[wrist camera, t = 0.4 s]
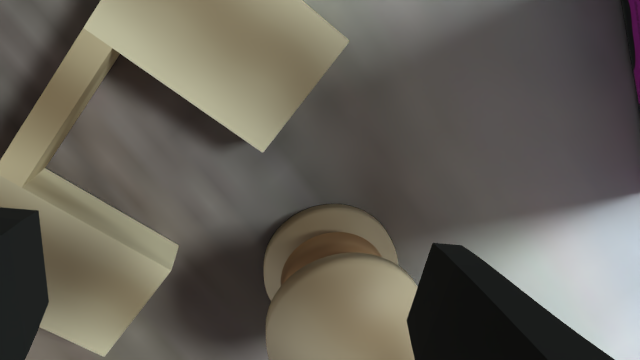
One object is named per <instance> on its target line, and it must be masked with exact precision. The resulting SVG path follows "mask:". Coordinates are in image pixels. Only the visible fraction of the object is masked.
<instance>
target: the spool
mask: <svg viewBox="0 0 640 360" xmlns="http://www.w3.org/2000/svg"><path fill="white" fill-rule="evenodd" d="M263 270H264V284H265V288H266V292H267V294H268V296H269V299H270V300H271V303H270V306H269V309H268V312H267V317H266V347H267V353H268V357H269V360H415V358H414V354H413V350H412V345H411V340H410V335H409V331H408V326H407V321H406V320H407V317H408V314H409V312H410V309H411V306H412V303H413V300H414V297H415V294H416V291H417V288H418V287H417V285H416V284H415V282H414V281H413V279H412V278H411V276H410V275H409V274H408V273H407V272H406V271H405V270H404V269H402V268H401V267H400V266H398V260H397V254H396V250H395V247H394V245H393V243H392V241H391V239H390V237H389V235H388V233H387V232H386V230H385V229H384V227H383V226H382V225H381V224H380V223H379V221H378V220H377V219H375V218H374V217H373V216H372V215H370V214H368V213H367V212H365V211H363V210H361V209H359V208H356V207H352V206H349V205H342V204H325V205H319V206H314V207H311V208H308V209H305V210H303V211H301V212H299V213H297V214H295V215H294V216H292V217H291V218H289V219H288V220H287V221H286V222H284V223H283V224H282V225H281V226H280V227H279V228H278V229H277V231H276V232H275V233H274V235H273V236H272V238H271V240H270V242H269V243H268V246H267V249H266V251H265V256H264V265H263Z"/></svg>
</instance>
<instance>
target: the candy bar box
mask: <svg viewBox="0 0 640 360" xmlns="http://www.w3.org/2000/svg"><path fill="white" fill-rule="evenodd" d="M621 1H622V7H623V13H624V19H625V25H626V31H627V37H628V43H629V49H630V55H631V61H632V67H633V73H634V79H635V85H636V90H637V96H638V103H639V109H640V0H621Z"/></svg>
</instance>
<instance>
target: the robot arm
mask: <svg viewBox="0 0 640 360" xmlns="http://www.w3.org/2000/svg"><path fill="white" fill-rule="evenodd" d="M48 303H49V298H48V289H47V280H46V272H45V263H44V254H43V245H42V236H41V227H40V219H39V210H27V209H15V208H3V207H0V360H25V358H26V356H27V354H28V352H29V349H30V347H31V345H32V342H33V340H34V338H35V336H36V333H37V331H38V328H39V326H40V323H41V321H42V318H43V316H44V313H45V311H46V308H47V306H48ZM406 321H407V326H408V331H409V335H410V340H411V345H412V350H413V354H414V358H415V360H614V359H613V358H612V357H610V356H609V355H607V354H606V353H605V352H603V351H602V350H600V349H599V348H597V347H596V346H595V345H593V344H592V343H590V342H589V341H588V340H586V339H585V338H583V337H582V336H581V335H579V334H578V333H577V332H575V331H574V330H573V329H571V328H570V327H569V326H567V325H566V324H564V323H563V322H562V321H560V320H559V319H558V318H557V317H555V316H554V315H553V314H551V313H550V312H549V311H547V310H546V309H545V308H543V307H542V306H541V305H540V304H538V303H537V302H536V301H534V300H533V299H532V298H531V297H529V296H528V295H527V294H526V293H524V292H523V291H522V290H520V289H519V288H518V287H517V286H515V285H514V284H513V283H512V282H510V281H509V280H508V279H506V278H505V277H504V276H503V275H501V274H500V273H499V272H497V271H496V270H495V269H494V268H492V267H491V266H490V265H488V264H487V263H486V262H484V261H483V260H482V259H480V258H479V257H478V256H476V255H475V254H474V253H472V252H471V251H469V250H468V249H466V248H465V247H463V246H461V245H450V244H438V243H433V244H432V247H431V250H430V253H429V256H428V259H427V261H426V264H425V267H424V270H423V273H422V276H421V279H420V282H419V285H418V288H417V291H416V294H415V297H414V300H413V303H412V306H411V309H410V312H409V314H408V317H407V320H406Z"/></svg>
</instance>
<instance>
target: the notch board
mask: <svg viewBox="0 0 640 360" xmlns="http://www.w3.org/2000/svg"><path fill="white" fill-rule="evenodd" d="M349 42H350V41H349V40H348V39H347V38H346V37H345V36H343V35H342V34H341V33H340V32H339V31H338V30H336V29H335V28H334V27H333V26H332V25H331V24H329V23H328V22H327V21H326V20H325V19H324V18H322V17H321V16H320V15H319V14H318V13H317V12H315V11H314V10H313V9H312V8H311V7H309V6H308V5H307V4H306V3H305V2H304V1H302V0H101V1H100V2H99V4H98V5H97V7H96V9H95V10H94V12H93V13H92V15H91V17H90V18H89V20H88V21H87V23H86V25H85V26H84V28H83V29H82V31H81V33H80V34H79V36H78V37H77V39H76V40H75V42H74V44H73V45H72V47H71V48H70V50H69V52H68V53H67V55H66V56H65V58H64V60H63V61H62V63H61V64H60V66H59V68H58V69H57V71H56V72H55V74H54V76H53V77H52V79H51V80H50V82H49V83H48V85H47V87H46V88H45V90H44V91H43V93H42V95H41V96H40V98H39V99H38V101H37V103H36V104H35V106H34V107H33V109H32V111H31V112H30V114H29V115H28V117H27V119H26V120H25V122H24V123H23V125H22V126H21V128H20V130H19V131H18V133H17V134H16V136H15V138H14V139H13V141H12V142H11V144H10V146H9V147H8V149H7V150H6V152H5V154H4V155H3V157H2V158H1V160H0V207H3V208H15V209H27V210H39V219H40V227H41V236H42V245H43V254H44V263H45V272H46V280H47V289H48V298H49V303H48V306H47V308H46V311H45V313H44V316H43V318H42V321H41V323H40V326H39V327H40V328H43V329H45V330H47V331H49V332H51V333H53V334H56V335H58V336H60V337H62V338H64V339H66V340H69V341H71V342H73V343H75V344H77V345H79V346H82V347H84V348H86V349H88V350H90V351H92V352H95V353H97V354H99V355H101V356H103V357H105V355H106V354H107V353H108V351H109V350H110V349H111V348H112V346H113V345H114V344H115V342H116V341H117V340H118V339H119V337H120V336H121V335H122V333H123V332H124V331H125V330H126V328H127V327H128V326H129V324H130V323H131V322H132V321H133V319H134V318H135V317H136V315H137V314H138V313H139V312H140V310H141V309H142V308H143V306H144V305H145V304H146V303H147V301H148V300H149V299H150V297H151V296H152V295H153V294H154V292H155V291H156V290H157V288H158V287H159V286H160V285H161V283H162V282H163V281H164V279H165V278H166V277H167V276H168V274H169V273H170V272H171V270H172V267H173V264H174V260H175V257H176V254H177V250H178V247H179V245H177V244H176V243H174V242H172V241H170V240H169V239H167V238H165V237H163V236H162V235H160V234H158V233H156V232H155V231H153V230H151V229H150V228H148V227H146V226H144V225H143V224H141V223H139V222H137V221H136V220H134V219H132V218H130V217H129V216H127V215H125V214H124V213H122V212H120V211H118V210H117V209H115V208H113V207H111V206H110V205H108V204H106V203H104V202H103V201H101V200H99V199H98V198H96V197H94V196H92V195H91V194H89V193H87V192H85V191H84V190H82V189H80V188H79V187H77V186H75V185H73V184H72V183H70V182H68V181H66V180H65V179H63V178H61V177H59V176H58V175H56V174H54V173H53V172H51V171H49V170H47V169H46V168H45V167H46V166H47V164H48V163H49V161H50V160H51V158H52V157H53V155H54V154H55V152H56V151H57V149H58V148H59V146H60V145H61V143H62V142H63V140H64V139H65V137H66V135H67V134H68V132H69V131H70V129H71V128H72V126H73V125H74V123H75V122H76V120H77V119H78V117H79V116H80V114H81V113H82V111H83V110H84V108H85V107H86V105H87V104H88V102H89V100H90V99H91V97H92V96H93V94H94V93H95V91H96V90H97V88H98V87H99V85H100V84H101V82H102V81H103V79H104V78H105V76H106V75H107V73H108V72H109V70H110V69H111V67H112V66H113V64H114V62H115V61H116V59H117V58H118V56H119V55H120V54H121V55H123V56H124V57H126V58H127V59H129V60H130V61H132V62H133V63H134V64H136V65H137V66H139V67H140V68H142V69H143V70H144V71H146V72H147V73H149V74H150V75H152V76H153V77H155V78H156V79H157V80H159V81H160V82H162V83H163V84H165V85H166V86H167V87H169V88H170V89H172V90H173V91H175V92H176V93H177V94H179V95H180V96H182V97H183V98H185V99H186V100H188V101H189V102H190V103H192V104H193V105H195V106H196V107H198V108H199V109H200V110H202V111H203V112H205V113H206V114H208V115H209V116H210V117H212V118H213V119H215V120H216V121H218V122H219V123H221V124H222V125H223V126H225V127H226V128H228V129H229V130H231V131H232V132H233V133H235V134H236V135H238V136H239V137H241V138H242V139H243V140H245V141H246V142H248V143H249V144H251V145H252V146H254V147H255V148H256V149H258V150H259V151H261V152H262V153H263V152H264V151H265V150H266V148H267V147H268V146H269V144H270V143H271V142H272V141H273V139H274V138H275V137H276V135H277V134H278V133H279V132H280V130H281V129H282V128H283V126H284V125H285V124H286V123H287V121H288V120H289V119H290V117H291V116H292V115H293V114H294V112H295V111H296V110H297V108H298V107H299V106H300V105H301V103H302V102H303V101H304V99H305V98H306V97H307V96H308V94H309V93H310V92H311V90H312V89H313V88H314V87H315V85H316V84H317V83H318V81H319V80H320V79H321V78H322V76H323V75H324V74H325V72H326V71H327V70H328V69H329V67H330V66H331V65H332V63H333V62H334V61H335V60H336V58H337V57H338V56H339V54H340V53H341V52H342V51H343V49H344V48H345V47H346V45H347V44H348V43H349Z"/></svg>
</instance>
